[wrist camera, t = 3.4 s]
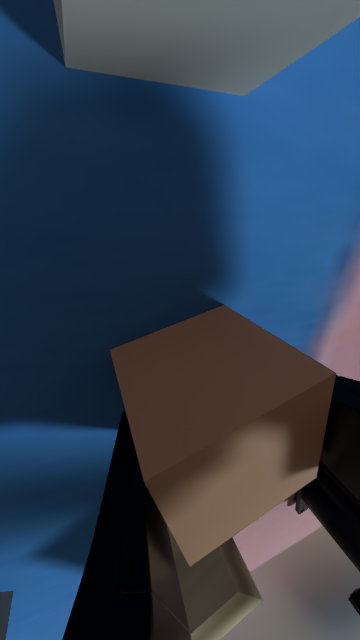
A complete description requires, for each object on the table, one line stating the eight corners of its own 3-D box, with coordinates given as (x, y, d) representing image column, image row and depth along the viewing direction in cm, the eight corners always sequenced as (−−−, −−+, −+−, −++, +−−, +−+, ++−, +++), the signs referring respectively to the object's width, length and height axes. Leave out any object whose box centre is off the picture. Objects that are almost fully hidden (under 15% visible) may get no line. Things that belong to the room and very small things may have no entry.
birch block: (217, 506, 17) (262, 600, 13) (161, 551, 17) (191, 665, 12) (191, 482, 14) (238, 592, 10) (124, 535, 14) (145, 674, 10)
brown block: (233, 387, 12) (316, 477, 8) (145, 431, 11) (190, 566, 7) (224, 304, 10) (335, 373, 6) (109, 349, 8) (144, 481, 4)
